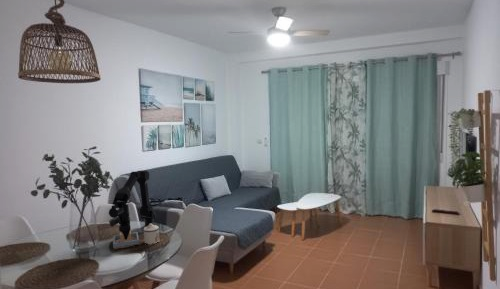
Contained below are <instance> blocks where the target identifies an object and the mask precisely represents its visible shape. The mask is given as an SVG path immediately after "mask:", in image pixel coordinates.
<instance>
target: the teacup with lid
mask: <svg viewBox="0 0 500 289" xmlns="http://www.w3.org/2000/svg"><path fill="white" fill-rule="evenodd" d="M159 229H160V227H159V226H158V225H156V224H154V225H153V224H152V223H151V224H149V225H148V226H147V227H144V228H143V229H142V230H143V239H144V241H143V242H144V244H145V243H148V244H152V243H157V242H159V243H160V230H159ZM157 244H158V243H157Z"/></svg>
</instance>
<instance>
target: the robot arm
mask: <svg viewBox="0 0 500 289" xmlns="http://www.w3.org/2000/svg"><path fill="white" fill-rule="evenodd" d="M129 174H130V175H129V177H128V178H127V180H126V182H125V184H124V185H123V186H122V187H120V188H119V189H118V190H117V191H116V193H115V195H114V198H113V201H112V205H111V208H109V211H108V215H109V216H110V218H111V219H109V220H108V223H109V226H110V227H111V228H113V227H114V226H116V225H119V226H118V232H123V235H124V238H125V240H126V239H127V238H128V235H129V232H130V230H132V229H131V217H130V209H129V207H130V206H129V204H130V202H131V201H130V198H131V195H132V194H131V191H132V190H133V188H134V186H135V184H136V182H137V183H138V185H139V190H140V191H139V192H140V199H141V206H140V208H139V209H138V210H139V215H140V218H141V219H142V220H143V219H144V225H143V227H144V228H145V227H147V226H148V225H149V224H151V223H152V224H153V225H155V224H154V220H155V219H156V218H157V213H156V211H155V210H154V207H153V206H152V205H151V203H150V196H149V187H148V183H149V180H150V172H149V171H148V170H137V171H131V172H130V173H129Z"/></svg>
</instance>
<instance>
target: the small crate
mask: <svg viewBox="0 0 500 289" xmlns="http://www.w3.org/2000/svg"><path fill="white" fill-rule="evenodd" d="M131 230H132V229H131ZM131 230H130V232H129V235H128V238H127V239H126V240H125V238H124V235H123V232H121V231H119V235H120V240H121V242H126V241H131V233H132V232H131Z"/></svg>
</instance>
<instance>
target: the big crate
mask: <svg viewBox="0 0 500 289" xmlns="http://www.w3.org/2000/svg"><path fill="white" fill-rule="evenodd" d="M136 236H137V240H132V241H126V242H120V243H115V240H118V239H120V234H116V235H113V239H112V240H113V241H112V246H113V248H116V247H120V246H125V245H133V244H138V243H139V244H140V242H139V240H140V239H139V233H138V231H136V232H131V237H136Z"/></svg>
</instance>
